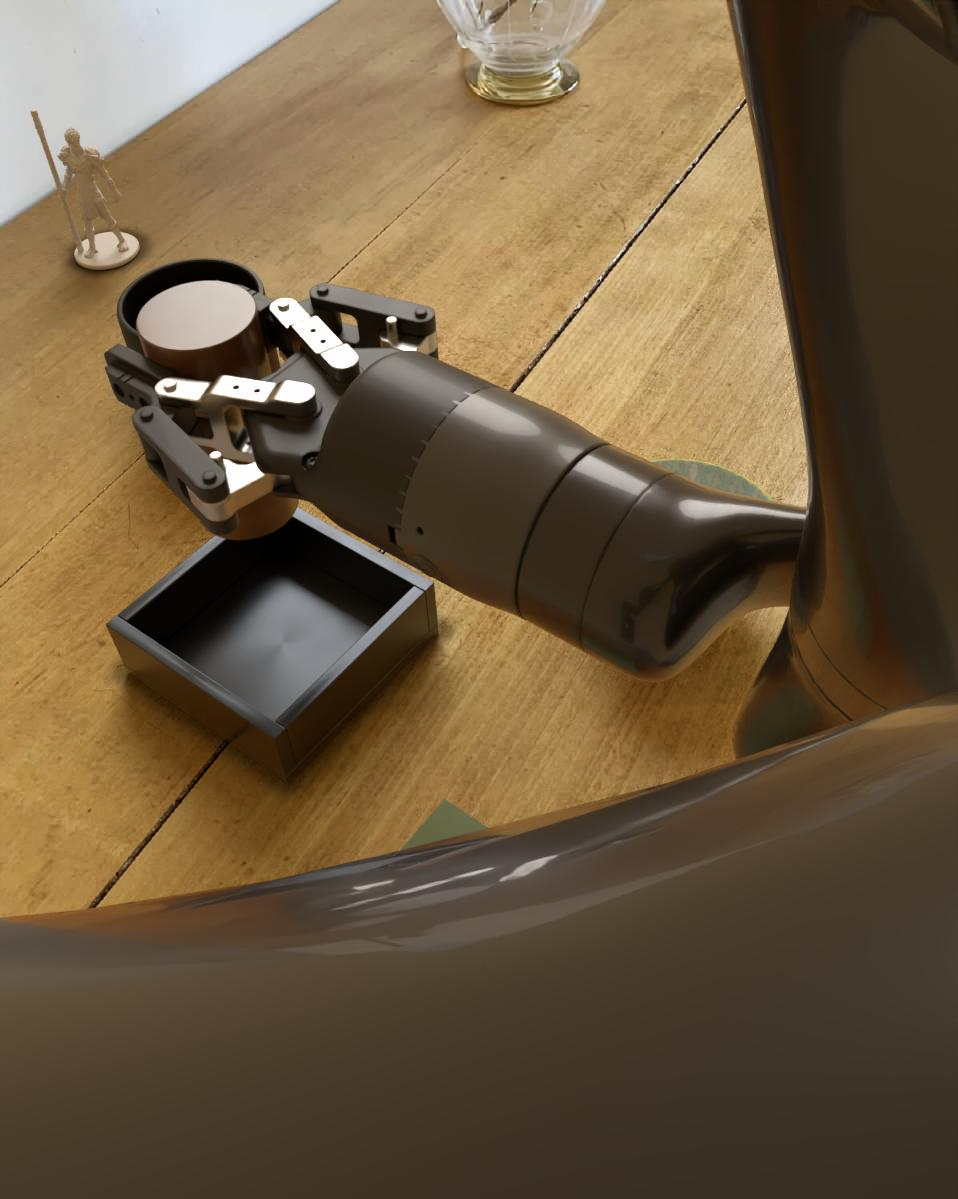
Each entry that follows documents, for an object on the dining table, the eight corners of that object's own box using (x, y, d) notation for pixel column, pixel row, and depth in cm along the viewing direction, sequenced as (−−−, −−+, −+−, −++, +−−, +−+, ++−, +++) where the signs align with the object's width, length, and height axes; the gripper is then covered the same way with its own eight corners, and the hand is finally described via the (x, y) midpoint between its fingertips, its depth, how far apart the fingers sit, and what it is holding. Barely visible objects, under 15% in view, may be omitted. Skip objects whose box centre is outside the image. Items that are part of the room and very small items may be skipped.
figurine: (68, 270, 90) (16, 126, 81) (82, 235, 93) (34, 92, 84) (132, 268, 90) (88, 123, 80) (145, 233, 93) (103, 90, 84)
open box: (288, 785, 58) (274, 739, 54) (126, 672, 63) (105, 624, 60) (439, 631, 64) (434, 582, 61) (280, 540, 69) (268, 490, 66)
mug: (184, 342, 83) (153, 233, 76) (314, 390, 79) (293, 279, 72) (96, 415, 78) (54, 304, 71) (230, 470, 73) (199, 359, 67)
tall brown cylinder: (248, 555, 52) (193, 365, 44) (175, 512, 54) (110, 323, 46) (320, 494, 55) (281, 304, 46) (248, 456, 57) (198, 266, 48)
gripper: (580, 306, 42) (262, 182, 50) (329, 526, 35) (-2, 344, 42) (575, 454, 48) (290, 323, 55) (358, 669, 41) (62, 488, 48)
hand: (165, 333), depth 49 cm, fingers closed on tall brown cylinder, 5 cm apart
